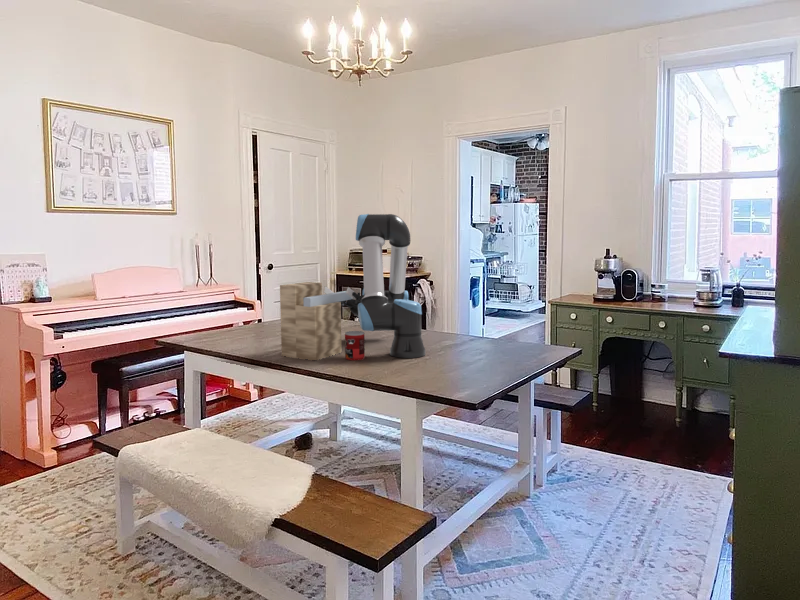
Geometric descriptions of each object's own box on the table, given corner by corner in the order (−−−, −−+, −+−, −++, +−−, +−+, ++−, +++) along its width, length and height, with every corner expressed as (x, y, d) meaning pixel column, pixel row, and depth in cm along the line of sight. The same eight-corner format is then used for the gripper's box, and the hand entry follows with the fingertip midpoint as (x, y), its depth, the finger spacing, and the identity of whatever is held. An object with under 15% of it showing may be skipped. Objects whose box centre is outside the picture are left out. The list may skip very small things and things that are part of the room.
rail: (346, 298, 269) (346, 290, 269) (352, 299, 267) (352, 291, 267) (303, 306, 243) (303, 297, 243) (310, 306, 241) (310, 298, 241)
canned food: (343, 357, 249) (342, 331, 248) (361, 356, 252) (361, 330, 251) (348, 361, 242) (347, 334, 241) (366, 359, 245) (366, 333, 244)
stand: (308, 348, 267) (307, 281, 264) (341, 352, 258) (340, 283, 255) (281, 356, 252) (279, 285, 248) (315, 360, 243) (314, 287, 239)
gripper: (380, 318, 270) (356, 298, 252) (337, 314, 282) (311, 296, 265) (384, 303, 272) (361, 282, 255) (342, 300, 284) (316, 280, 267)
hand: (335, 289), depth 260 cm, fingers open, 12 cm apart
